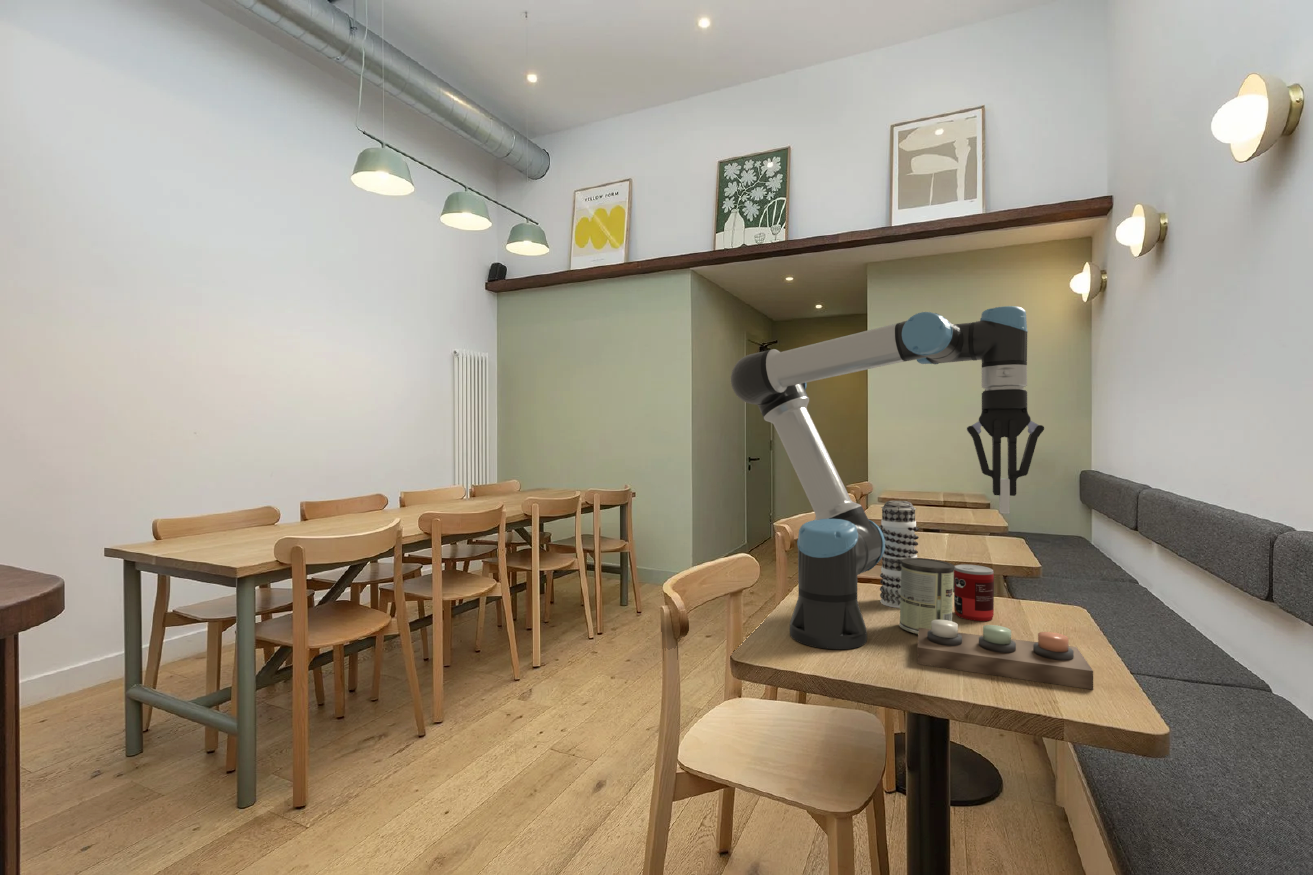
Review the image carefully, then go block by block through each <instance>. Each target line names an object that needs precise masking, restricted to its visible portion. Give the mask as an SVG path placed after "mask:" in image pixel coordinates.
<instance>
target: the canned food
mask: <svg viewBox="0 0 1313 875" xmlns="http://www.w3.org/2000/svg"><path fill="white" fill-rule="evenodd" d="M954 566H955V568H954V573H953V609H954V613H955V614H954V615H956V616H957V617H959V618H962V619H965V620H969V621H973V620H974V621H975V622H989V621H992V620H993V618H994V614H995V613H994V612H995V611H994V610H995V609H994V604H995V601H994V597H995V595H994V592H995V588H994V587H995V583H994V582H995V581H994V578H995V577H994V575H995V573H994V570H993V569H992V567H991V568H990V567H987V566H984V565H983V566H982V565H978V564H977V565H975V564H956V565H954Z"/></svg>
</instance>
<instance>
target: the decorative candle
mask: <svg viewBox="0 0 1313 875" xmlns="http://www.w3.org/2000/svg"><path fill="white" fill-rule="evenodd" d="M880 508H881V511H882V512H881V522H880V525H878V527H879V528H880V529H881V531H882V533H883V535H884V539H885V551H884V554H883V556H882V558H881V560H882V561H881V563H882V564H881V571H880V574H879V577H880V578H881V579H880V581H879V583H880V584H881V586H880V588H879V591H880V594H879V596H880V598H881V599H880V600H879V601H880V603H882V604H881V605H884V606H886V607H889V608H894V609H900V601H901V570H902V564H901V560H902V559H905V558H918V554H919V552H918V550H916V547H917V546H919V542H917V541H916V540H918V539H919V536H918V535H917V534H915V533H916V532H918V531H919V530H920V528H919V527H918V526H917V521H916V510H917V508H916V507H915V506H914V505H913V504H912V502H910V501H906V500H905V501H904V500H888V501H886V502H885V503H884V505H883V506H881V507H880Z"/></svg>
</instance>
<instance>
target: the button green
mask: <svg viewBox="0 0 1313 875" xmlns="http://www.w3.org/2000/svg"><path fill="white" fill-rule="evenodd" d="M982 635H983V639H984V640H986V641H988V642H991V643H996V644H1010V643H1011V639H1012V629H1010V628H1008V627H1005V626H1002V625H995V624H986V625H983V627H982Z"/></svg>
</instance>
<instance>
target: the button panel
mask: <svg viewBox="0 0 1313 875" xmlns="http://www.w3.org/2000/svg"><path fill="white" fill-rule="evenodd" d="M916 648H917V665H921V666H929V667H930V666H931V667H937V668H942V669H951V670H958V671H962V672H963V671H964V672H970V673H978V674H982V675H983V674H985V675H990V676H991V675H992V676H997V677H1002V678H1003V677H1004V678H1011V679H1012V678H1013V679H1018V680H1023V681H1025V680H1026V681H1033V682H1039V683H1046V684H1052V685H1060V686H1066V687H1072V688H1079V689H1080V688H1081V689H1086V690H1087V689H1088V690H1094V670H1093V669H1092V667H1091V666H1090V664H1089V662H1088V661H1087V659H1086V658H1085V657H1084V656H1083V654H1082V652H1081V651H1080V650H1079V648H1078V647H1077V646H1071V645H1069V650H1068V651H1067V652H1054V651H1049V650H1045V649H1043V648H1041V647H1039V646H1038V641H1031V640H1022V639H1016V638H1015V639H1014V638H1011V643H1010V644H996V643H991V642H988V641H986V640H984V639H983V634H982V635H981V634H974V633H966V632H958V636H957V637H955V638H944V637H939V636H936V635H933V634H932V629H926V628H919V632H918V634H917V647H916Z"/></svg>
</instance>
